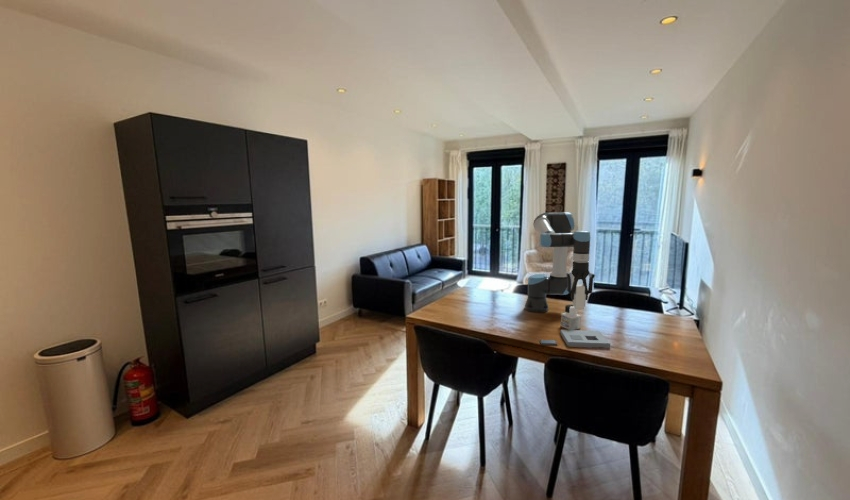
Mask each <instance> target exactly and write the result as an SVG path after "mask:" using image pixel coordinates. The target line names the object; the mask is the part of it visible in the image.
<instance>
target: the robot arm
mask: <svg viewBox="0 0 850 500" xmlns="http://www.w3.org/2000/svg"><path fill="white" fill-rule="evenodd" d="M533 228H534V229H535V230H536V231H537V233H538V234H539V245H540V247H542V248H552V249H553V250H552V252H553V253H552V271H551V272H550V273H549V276H547V274H544V273H537V274H532V275H530V276H528V280H527V297H526V301H525V303H524V309H525V310H526V311H528V312H530V313H546V312H548V311H549V303H548V301H547V295H559V296H564V295H565V296H566V295H568V294H570V299H571V300H572V305H573V306H574V307H575V303H576V294H575V289H576V286H577V284H578V282H579V280H581V281H582V285H584V286H585V297H584V308H586V302H587V301H588V299H589V294H592V293H593V287H594V286H593V285H594V278H595V277H596V275H595V274H594V273H592V272H590V271H589V270H590V269H589V268H590V267H589V266H590V247H591V232H590V231H588V230H575V218H574V216H573V214H572V213H571V212H567V211H560V212H559V211H558V212H557V211H555V212H550V211H549V212H543V213H541V214H538V215H537V216H536V217H535V218H534V220H533ZM574 230H575V231H574ZM572 231H573V232H572ZM569 248H572V249H573V251H572V269H571V272H567V269H568V268H567V267H568V251H569V250H568V249H569ZM572 277H574V278H573V282H572ZM587 277H588V278H589V280H588V284H587Z"/></svg>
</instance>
